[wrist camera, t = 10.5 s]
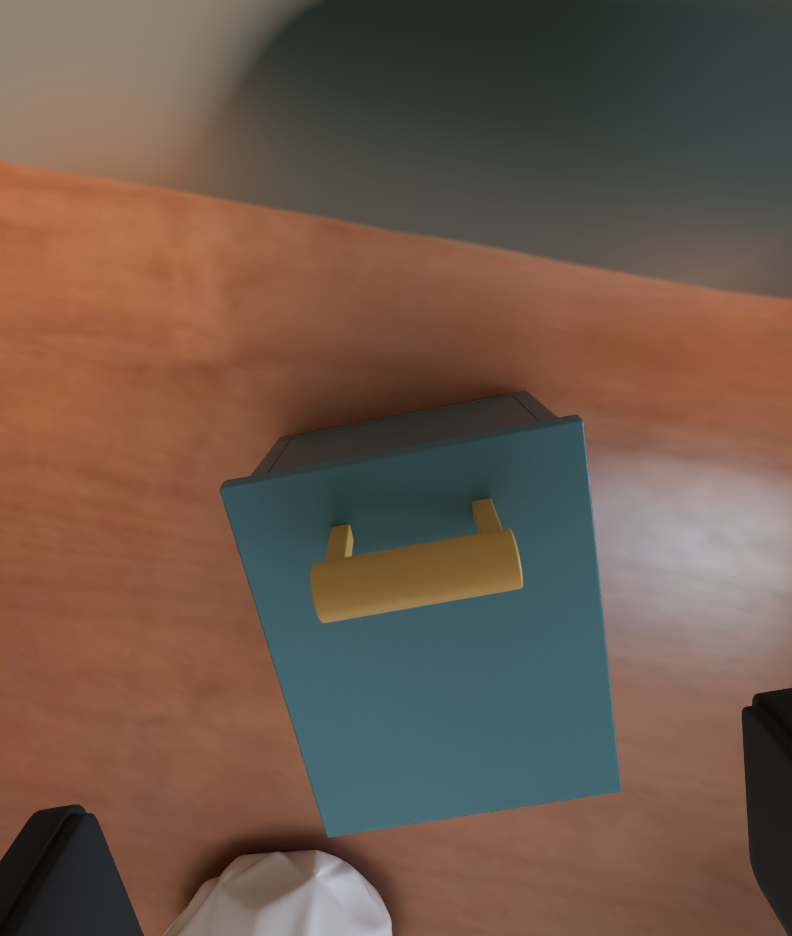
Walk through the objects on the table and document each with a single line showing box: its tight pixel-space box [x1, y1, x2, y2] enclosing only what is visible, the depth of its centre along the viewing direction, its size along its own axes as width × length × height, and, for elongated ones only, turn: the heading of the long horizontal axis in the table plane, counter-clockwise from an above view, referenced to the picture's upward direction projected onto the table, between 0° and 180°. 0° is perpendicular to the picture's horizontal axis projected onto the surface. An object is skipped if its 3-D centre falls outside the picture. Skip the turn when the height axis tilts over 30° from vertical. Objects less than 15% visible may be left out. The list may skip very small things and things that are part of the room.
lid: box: [220, 415, 621, 837], centre depth 23 cm, size 16×13×6 cm
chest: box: [251, 391, 558, 476], centre depth 31 cm, size 16×13×9 cm
